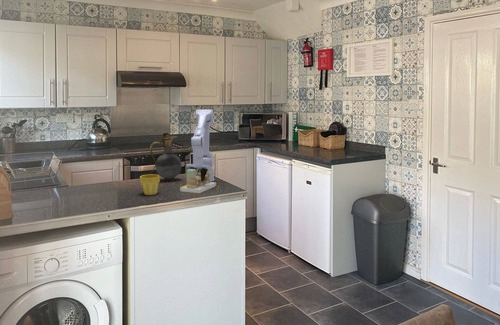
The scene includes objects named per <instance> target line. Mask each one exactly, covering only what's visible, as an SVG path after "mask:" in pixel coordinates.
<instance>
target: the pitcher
mask: <svg viewBox="0 0 500 325" xmlns="http://www.w3.org/2000/svg"><path fill="white" fill-rule="evenodd" d="M162 135H163V136H162ZM162 135H161V136H160V138H161V140H162V141H153V142H152V143H151V144H150V146H149V151H150V154H151V157H152V159H153V161H154V163H155V164H154V167H153V170H152V172H154V170H156V172H157V175H159V176H160V178H162V182H166V181H167V182H168V181H169V182H174V181H176V177H177V176H179V175H180V173H181V171H182V165H183V164H182V161H181V159H180V157H179V156H178V155H177V154H175V153H173V141H174V139H175V138H176V139H178V136H176V135H175V136H174V135H170V133H168V132H164V133H162ZM155 145H160V146H162V147H163V154H161V155H159V157H158V158H155V156H154V153H153V147H154V146H155Z"/></svg>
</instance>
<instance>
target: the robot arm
mask: <svg viewBox="0 0 500 325" xmlns="http://www.w3.org/2000/svg"><path fill="white" fill-rule="evenodd" d="M195 117H196V121H197V126H196V127H195V129H194V134H193V136H191V139H190V140H191V142H190V143H191V149H192V163H187V164H185V165H186V166H185V167H186V169H196V171H197V170H198V169H201V170H200V171H198V173H200V172H201V181H202V182H203V181H204V179H205V175H206V173H207V171H208V169H209V172H210V182H214V181H216V179H215V177H214V176H215V174H214V173H215V172H214V171H215V170H214V168H213V166H214V162H215V160H214V154H213V153H212V152H211V151H210V132H211V130H210V129H211V128H210V127H211V125H212V124H213V123H214V111H213V109H196V110H195ZM200 167H201V168H200Z"/></svg>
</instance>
